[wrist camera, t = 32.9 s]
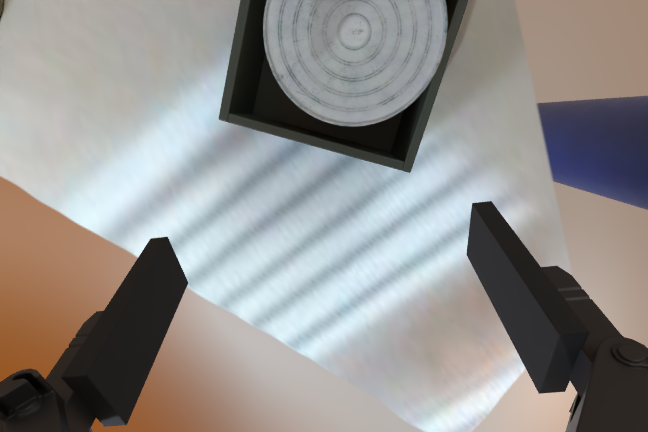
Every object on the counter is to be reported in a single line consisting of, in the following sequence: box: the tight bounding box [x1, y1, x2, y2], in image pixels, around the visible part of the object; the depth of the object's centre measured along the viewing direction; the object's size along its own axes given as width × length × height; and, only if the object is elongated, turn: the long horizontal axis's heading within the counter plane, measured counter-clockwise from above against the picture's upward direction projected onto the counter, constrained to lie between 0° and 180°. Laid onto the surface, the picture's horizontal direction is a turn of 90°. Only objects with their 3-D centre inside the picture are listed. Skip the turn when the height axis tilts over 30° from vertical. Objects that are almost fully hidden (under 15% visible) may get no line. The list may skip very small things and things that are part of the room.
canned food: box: [263, 0, 448, 126], centre depth 28 cm, size 11×11×12 cm
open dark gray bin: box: [219, 0, 468, 173], centre depth 30 cm, size 15×15×9 cm
